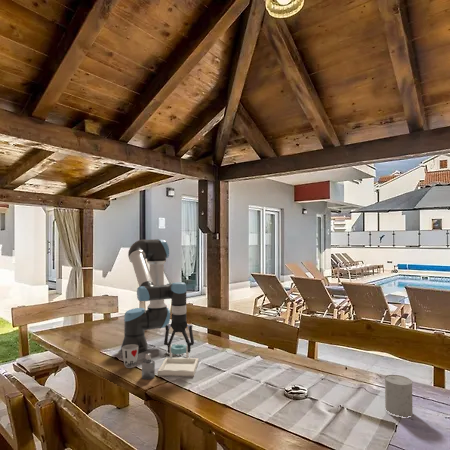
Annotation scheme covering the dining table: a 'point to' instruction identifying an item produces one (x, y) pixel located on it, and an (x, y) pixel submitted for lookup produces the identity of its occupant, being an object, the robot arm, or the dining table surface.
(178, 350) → the ring
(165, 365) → the tray
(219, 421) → the dining table surface
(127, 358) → the cup
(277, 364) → the dining table surface
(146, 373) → the grey bottle
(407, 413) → the grey cylinder
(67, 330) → the dining table surface
